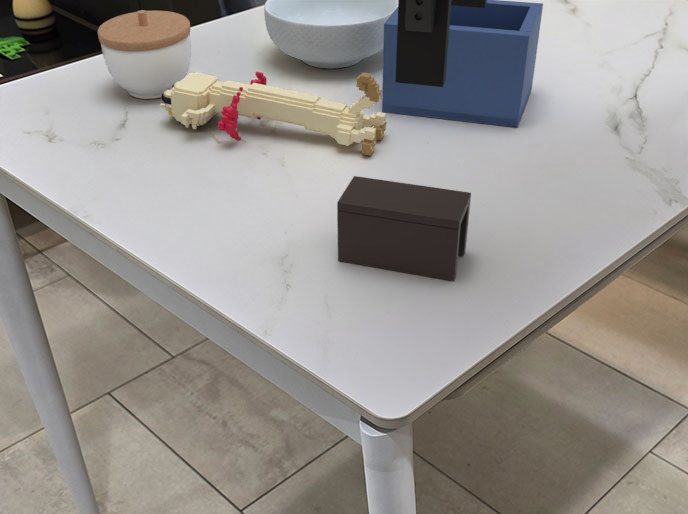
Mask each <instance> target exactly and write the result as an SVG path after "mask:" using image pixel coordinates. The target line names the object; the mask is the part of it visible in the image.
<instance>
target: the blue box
mask: <svg viewBox="0 0 688 514" xmlns="http://www.w3.org/2000/svg"><path fill="white" fill-rule="evenodd" d="M543 7H544V3H543V2H542V3H541V2H527V1H514V0H513V1H512V0H487V5H486V6H485V8H479V7H465V6H452V5H451V14H450V27H449V41H448V54H447V68H446V81H445V84H444V86H443V87H436V86H426V85H416V84H407V83H397V82H395V81H396V54H397V26H398V7H397V8H396V10H395V11H394V12H393V13H392V14H391V16H390V17H389V18H388V19H387V21H386V22H385V23H384V44H383V49H382V51H383V52H382V91H381V113H389V114H390V113H391V114H397V115H408V116H414V117H423V118H424V117H425V118H432V119H442V120H450V121H457V122H466V123H474V124H483V125H484V124H485V125H493V126H500V127H501V126H502V127H510V128H519V126H520V123H521V120H522V118H523V115H524V112H525V109H526V107H527V104H528V101H529V98H530V96H531V93H532V90H533V82H534V74H535V68H536V60H537V54H538V44H539V39H540V30H541V22H542V16H543Z"/></svg>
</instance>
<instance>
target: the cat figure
mask: <svg viewBox="0 0 688 514" xmlns="http://www.w3.org/2000/svg"><path fill="white" fill-rule="evenodd" d="M254 74H255V77H256V79H251V80H250V83H244V82H241V81H240V82H239V81H234V80H229V79H228V80H226V81H221V80H220V79H219V78H218V77H217V76H216V75H211V74H207V73H202V72H198V71H194V72H189V73H187V74H186V76H185V78H183V79H182V80H181V81H180V82H179V81H177V82H176V83H175V84H174V85H173V86H172V89H171V90H167V91H165V92H164V93H163V94H162V95H161V96H162V97H161V101H162V102H161V103H159V107H160V108H163V109H164V111H167V113H168V115H169V116H172V117H173V118H174V119H175V120H176V121H177V122H180V124H181V125H184V126H185V128H190V125H191V128H192V129H193V130H197V129H198V127H200V126H204V125H205V124H207V122H209V121H210V120H211V118H213V117H214V116H215V115H216V114H221V115H222V116H221V119H220V120H219V121H218V122H217V129H219V130H220V131H224V132H225V133H226V134H227V135H229V137H230V139H232V140H235V141H241V140H242V136H239V135H240V134H239V130H237V129H238V120H239V116H240V117H246V118H252V119H257V120H260V119H261V118H262V119H267V120H273V121H276V122H277V121H278V122H280V123H281V122H282V123H286V124H291V125H296V126H300V127H303V129H304V130H306V131H311V132H316V133H320V134H325V135H330V137H331V138H332V139H334V140H335V141H336V143H337V144H338V145H341V146H347V147H350V146H351V145H353V144H354V143H358V144H361V147H360V148H361V149H360V152H361V153H362V155H364V156H368V157H372V155H373V154H374V150H375V146H376V145H377V141H380V142H382V140H383V139H384V138H385V137H384V136H385V132H386V130H387V123H388V121H386V119H387V113H386V112H381V111H377V113H371V114H370V115H368V114H366V113H365V111H364V110H365V109H368V110H369V109H370V108H371V107H372V108H373V106H374V105H376V104H377V103H379V102H380V101H381V100H382V90H383V89H382V90H381V89H380V83H377V82H378V81H377V80H375V77H373V76H372V73H368V72H361V74H359V75H358V76H357V77H356V85H355V87H356V88H358V91H362V92H363V93H364V95H363V96H362V97H360V98H358V99H357V100H355V101H354V102H353V103H351V104H350V105H349V107H348V105H347V103H343V102H337V101H332V100H327V99H323V98H321V96H320V95H315V94H312V93H308V92H307V93H306V92H301V91H296V90H292V89H288V88H287V89H286V88H281V87H277V86H272V85H268V84H267V76H266V75H264V72H260V71H255V73H254ZM167 105H169V106H167Z"/></svg>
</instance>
